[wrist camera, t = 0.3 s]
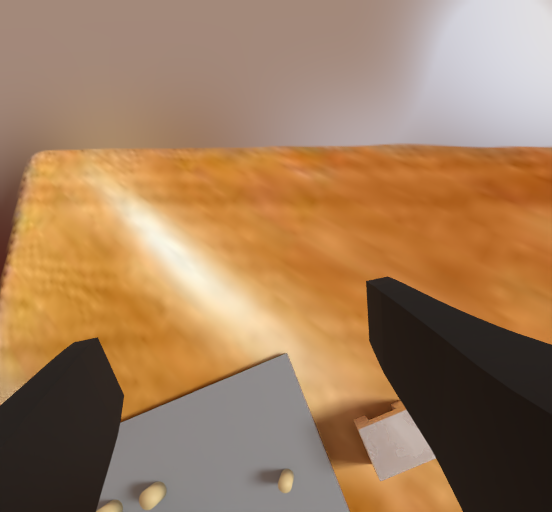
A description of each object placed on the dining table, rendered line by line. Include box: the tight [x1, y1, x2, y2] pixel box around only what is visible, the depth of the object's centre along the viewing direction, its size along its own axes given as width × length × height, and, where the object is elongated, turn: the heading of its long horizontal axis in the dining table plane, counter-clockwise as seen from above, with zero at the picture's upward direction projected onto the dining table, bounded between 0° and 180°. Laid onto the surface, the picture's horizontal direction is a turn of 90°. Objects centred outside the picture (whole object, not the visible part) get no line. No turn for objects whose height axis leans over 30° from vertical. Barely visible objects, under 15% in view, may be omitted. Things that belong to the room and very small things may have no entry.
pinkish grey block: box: [353, 400, 436, 481], centre depth 32 cm, size 4×5×5 cm
